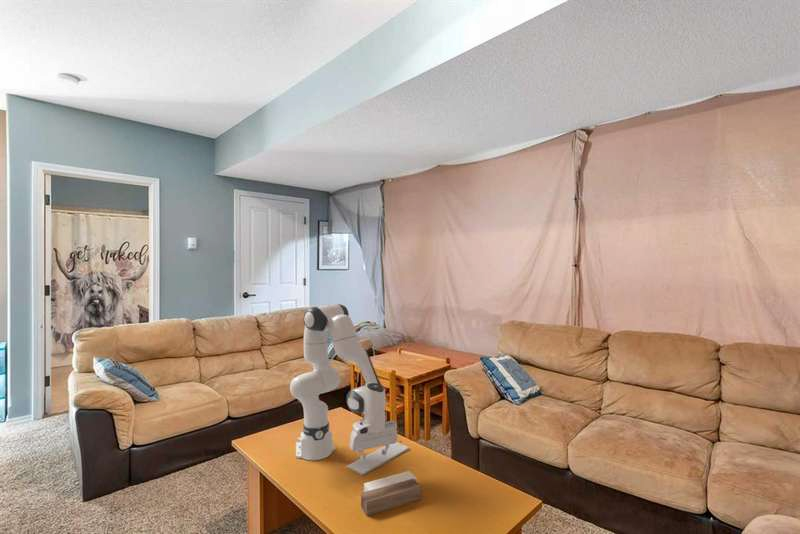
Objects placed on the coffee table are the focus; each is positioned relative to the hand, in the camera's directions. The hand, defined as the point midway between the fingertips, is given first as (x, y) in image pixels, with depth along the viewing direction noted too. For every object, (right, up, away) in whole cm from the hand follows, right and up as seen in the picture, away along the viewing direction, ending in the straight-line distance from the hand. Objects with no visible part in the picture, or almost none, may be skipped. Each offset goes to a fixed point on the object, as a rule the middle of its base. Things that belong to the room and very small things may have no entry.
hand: (373, 456), depth 160 cm
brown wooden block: (+8, -10, -15) cm, 19 cm away
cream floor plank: (+7, -10, -8) cm, 15 cm away
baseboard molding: (+1, -11, +19) cm, 22 cm away
